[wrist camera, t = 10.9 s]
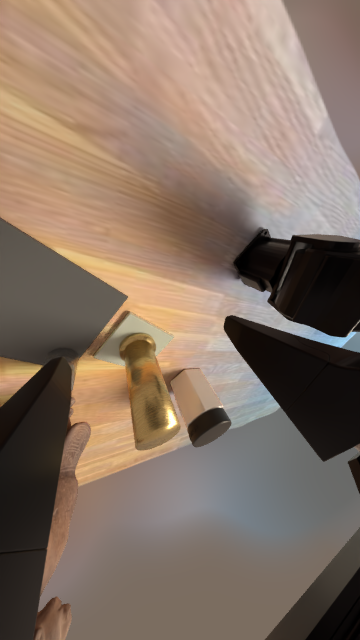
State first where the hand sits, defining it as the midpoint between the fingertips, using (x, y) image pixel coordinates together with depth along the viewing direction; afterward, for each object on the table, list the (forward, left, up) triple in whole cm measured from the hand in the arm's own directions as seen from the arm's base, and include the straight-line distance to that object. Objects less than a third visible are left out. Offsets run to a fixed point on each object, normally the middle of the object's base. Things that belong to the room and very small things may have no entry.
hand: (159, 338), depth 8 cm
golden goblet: (+9, +8, -12) cm, 17 cm away
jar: (+13, +25, -13) cm, 31 cm away
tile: (+9, +8, -13) cm, 18 cm away
